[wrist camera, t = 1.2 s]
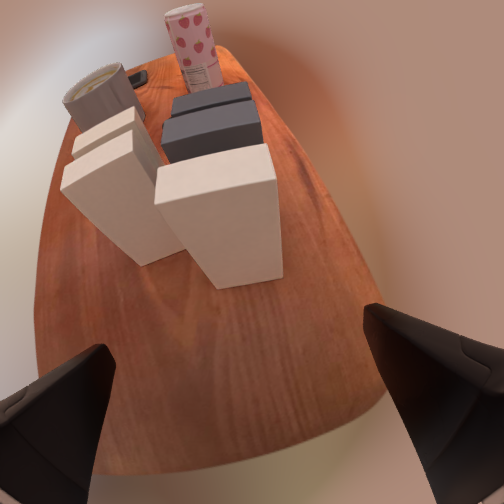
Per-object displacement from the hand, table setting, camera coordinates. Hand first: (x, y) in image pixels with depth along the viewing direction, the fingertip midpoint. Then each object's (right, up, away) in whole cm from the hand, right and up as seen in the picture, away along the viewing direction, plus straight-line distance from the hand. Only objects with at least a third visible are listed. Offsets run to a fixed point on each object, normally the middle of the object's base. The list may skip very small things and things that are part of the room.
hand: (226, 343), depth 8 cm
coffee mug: (-21, +24, +28) cm, 43 cm away
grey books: (0, +7, +17) cm, 18 cm away
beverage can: (-6, +28, +28) cm, 40 cm away
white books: (-8, +5, +17) cm, 20 cm away
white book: (0, +1, +14) cm, 14 cm away
